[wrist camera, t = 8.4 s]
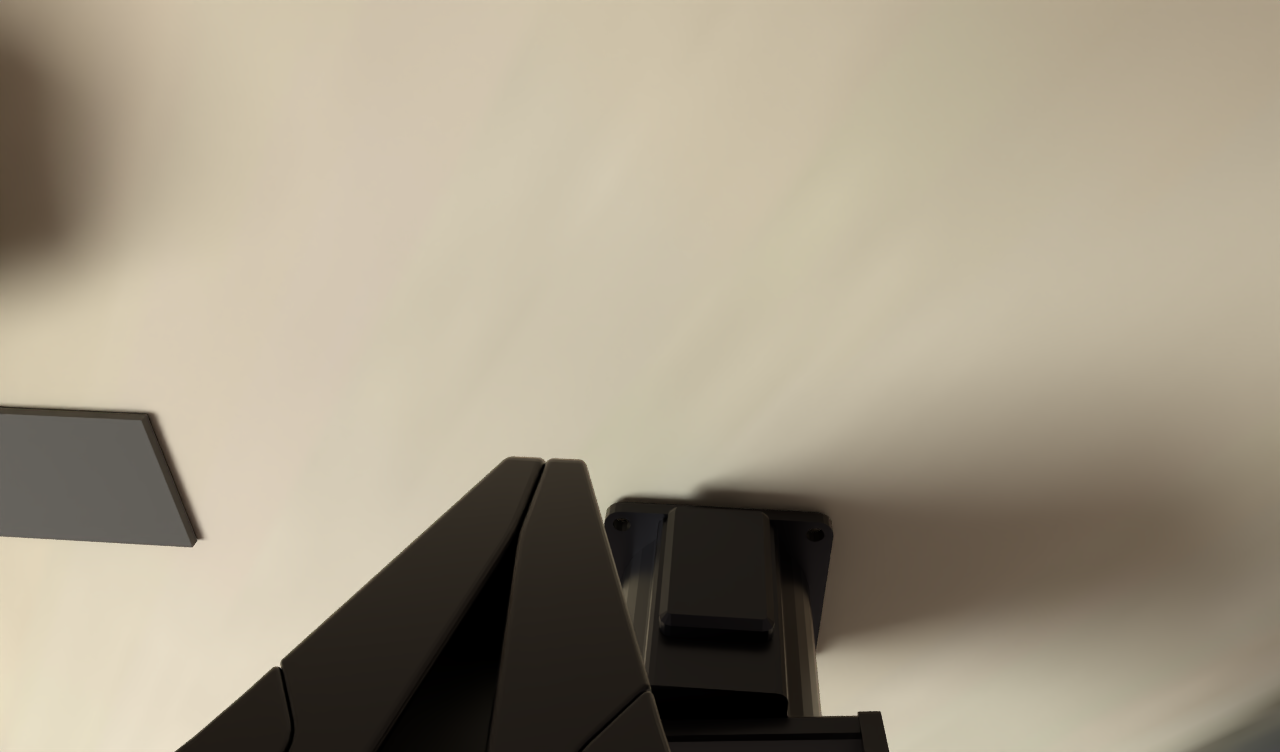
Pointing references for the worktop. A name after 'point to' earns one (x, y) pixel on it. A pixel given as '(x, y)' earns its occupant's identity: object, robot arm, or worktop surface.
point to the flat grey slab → (87, 479)
